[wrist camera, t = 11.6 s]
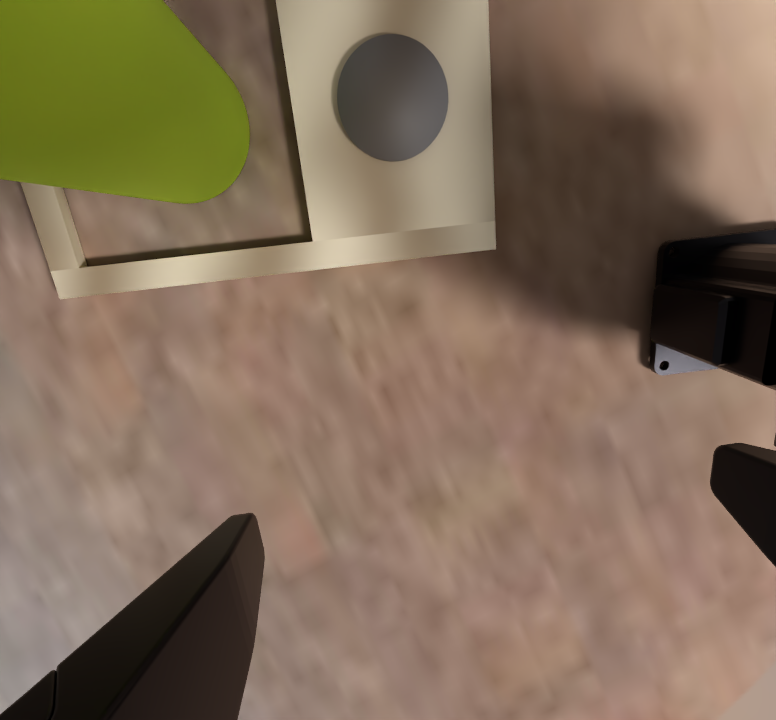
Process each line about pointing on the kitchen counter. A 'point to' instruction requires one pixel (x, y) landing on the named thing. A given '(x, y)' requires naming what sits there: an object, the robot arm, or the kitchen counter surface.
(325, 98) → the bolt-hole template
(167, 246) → the kitchen counter surface
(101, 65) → the soap dispenser
